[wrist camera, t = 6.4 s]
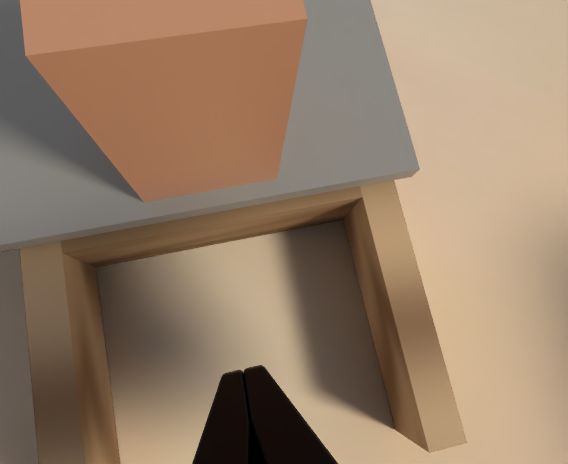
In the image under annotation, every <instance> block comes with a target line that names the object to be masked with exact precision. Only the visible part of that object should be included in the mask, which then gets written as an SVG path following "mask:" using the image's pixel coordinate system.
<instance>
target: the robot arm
mask: <svg viewBox="0 0 568 464" xmlns="http://www.w3.org/2000/svg"><path fill="white" fill-rule="evenodd" d="M192 464H338V463H337V462H336V460H335V459H334V458H333V456H332V455H331V454H330V452H329V451H328V450H327V449H326V447H325V446H324V445H323V443H322V442H321V441H320V439H319V438H318V437H317V435H316V434H315V433H314V431H313V430H312V429H311V428H310V426H309V425H308V424H307V422H306V421H305V420H304V418H303V417H302V416H301V414H300V413H299V412H298V410H297V409H296V408H295V407H294V405H293V404H292V403H291V401H290V400H289V399H288V397H287V396H286V395H285V393H284V392H283V391H282V389H281V388H280V387H279V386H278V384H277V383H276V382H275V380H274V379H273V378H272V376H271V375H270V374H269V372H268V371H267V370H266V368H265V367H264V366H262V365H259V366H254V367H250V368H246V369H245V370H244V374H243V372H242V371H241V370H237V371H232V372H228V373H225V374H223V375H222V377H221V380H220V383H219V386H218V389H217V392H216V395H215V398H214V401H213V404H212V407H211V409H210V412H209V415H208V418H207V421H206V424H205V427H204V430H203V433H202V436H201V439H200V442H199V445H198V448H197V451H196V454H195V457H194V460H193V463H192Z"/></svg>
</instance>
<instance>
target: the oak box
mask: <svg viewBox="0 0 568 464" xmlns="http://www.w3.org/2000/svg"><path fill="white" fill-rule="evenodd" d="M339 220H344V224H345V228H346V232H347V236H348V240H349V244H350V248H351V252H352V256H353V261H354V265H355V269H356V273H357V277H358V281H359V285H360V289H361V293H362V297H363V301H364V305H365V309H366V313H367V317H368V321H369V325H370V329H371V333H372V337H373V341H374V345H375V349H376V353H377V357H378V361H379V365H380V369H381V373H382V377H383V381H384V385H385V389H386V393H387V397H388V401H389V405H390V409H391V413H392V417H393V421H394V425H395V429H396V431H398V432H399V433H401V434H402V435H404V436H405V437H407V438H408V439H410V440H411V441H413V442H414V443H416V444H417V445H419V446H420V447H422V448H423V449H425V450H426V451H428V452H429V453H430V452H434V451H438V450H441V449H445V448H449V447H452V446H456V445H460V444H464V443H467V441H466V437H465V434H464V430H463V427H462V423H461V420H460V416H459V412H458V409H457V405H456V402H455V398H454V394H453V391H452V387H451V384H450V380H449V376H448V373H447V369H446V366H445V362H444V359H443V355H442V351H441V348H440V344H439V341H438V337H437V333H436V330H435V326H434V323H433V319H432V315H431V312H430V308H429V305H428V301H427V298H426V294H425V290H424V287H423V283H422V280H421V276H420V272H419V269H418V265H417V262H416V258H415V254H414V251H413V247H412V244H411V240H410V237H409V233H408V229H407V226H406V222H405V219H404V215H403V211H402V208H401V204H400V201H399V197H398V193H397V190H396V186H395V183H394V180H391V181H385V182H380V183H375V184H369V185H364V186H358V187H353V188H347V189H342V190H336V191H331V192H325V193H320V194H314V195H309V196H304V197H298V198H293V199H287V200H282V201H276V202H271V203H265V204H260V205H254V206H249V207H243V208H238V209H232V210H227V211H222V212H216V213H211V214H205V215H200V216H194V217H189V218H183V219H178V220H172V221H167V222H161V223H156V224H151V225H145V226H140V227H134V228H129V229H123V230H118V231H112V232H107V233H101V234H96V235H90V236H85V237H79V238H74V239H69V240H63V241H58V242H52V243H47V244H41V245H36V246H30V247H25V248H19V249H20V260H21V271H22V282H23V293H24V304H25V315H26V326H27V337H28V348H29V359H30V370H31V381H32V392H33V403H34V414H35V425H36V436H37V447H38V458H39V464H120V458H119V450H118V442H117V434H116V426H115V418H114V410H113V402H112V394H111V386H110V378H109V370H108V362H107V354H106V346H105V338H104V330H103V323H102V315H101V307H100V299H99V291H98V283H97V275H96V267H99V266H104V265H109V264H115V263H120V262H125V261H130V260H135V259H141V258H146V257H151V256H156V255H161V254H167V253H172V252H177V251H182V250H188V249H193V248H198V247H203V246H208V245H214V244H219V243H224V242H229V241H234V240H240V239H245V238H250V237H255V236H260V235H266V234H271V233H276V232H281V231H287V230H292V229H297V228H302V227H307V226H313V225H318V224H323V223H328V222H333V221H339Z"/></svg>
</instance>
